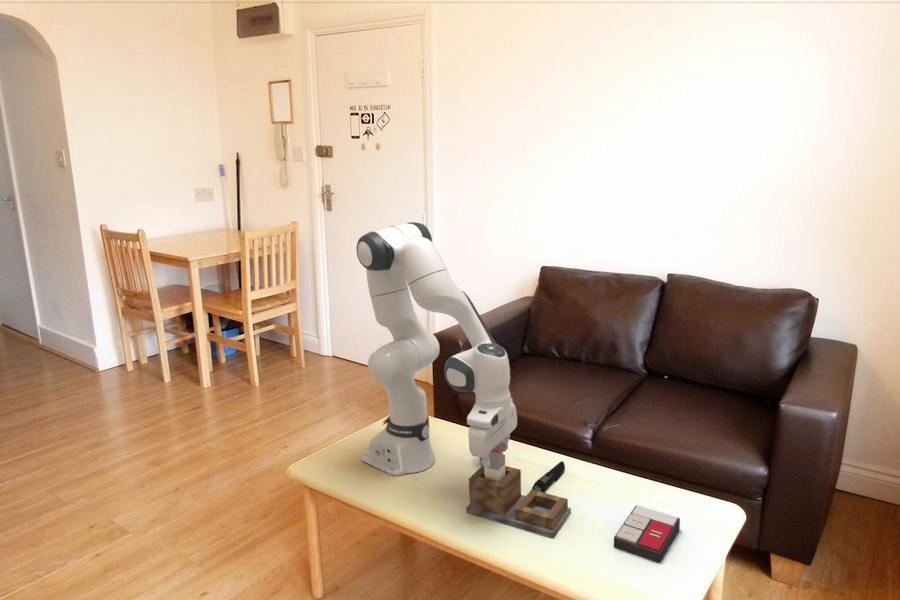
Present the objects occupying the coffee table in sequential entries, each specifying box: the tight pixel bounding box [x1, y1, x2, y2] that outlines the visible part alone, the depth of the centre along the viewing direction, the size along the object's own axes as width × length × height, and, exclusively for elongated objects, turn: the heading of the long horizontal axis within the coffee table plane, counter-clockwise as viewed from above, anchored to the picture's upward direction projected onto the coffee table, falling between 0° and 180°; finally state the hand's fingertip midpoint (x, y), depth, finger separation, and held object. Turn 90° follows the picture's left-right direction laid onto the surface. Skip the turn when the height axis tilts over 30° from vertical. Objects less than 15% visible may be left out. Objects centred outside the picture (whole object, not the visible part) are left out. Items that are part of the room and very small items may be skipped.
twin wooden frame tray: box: [465, 464, 572, 539], centre depth 165 cm, size 24×12×10 cm, turn 59°
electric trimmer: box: [531, 461, 566, 493], centre depth 180 cm, size 4×16×3 cm, turn 143°
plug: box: [484, 452, 506, 482], centre depth 167 cm, size 4×4×8 cm
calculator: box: [613, 504, 681, 564], centre depth 153 cm, size 11×4×15 cm
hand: (495, 457), depth 165 cm, fingers open, 8 cm apart
